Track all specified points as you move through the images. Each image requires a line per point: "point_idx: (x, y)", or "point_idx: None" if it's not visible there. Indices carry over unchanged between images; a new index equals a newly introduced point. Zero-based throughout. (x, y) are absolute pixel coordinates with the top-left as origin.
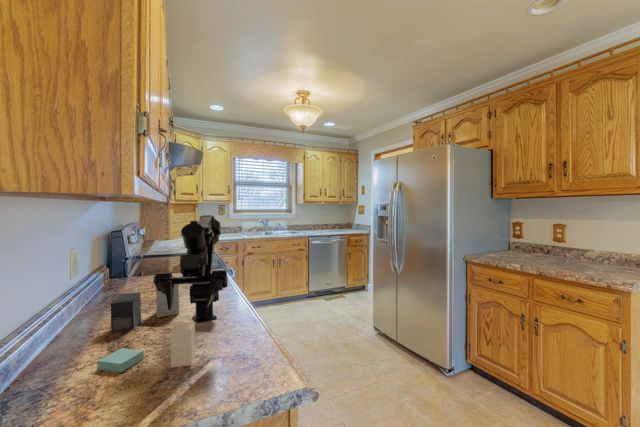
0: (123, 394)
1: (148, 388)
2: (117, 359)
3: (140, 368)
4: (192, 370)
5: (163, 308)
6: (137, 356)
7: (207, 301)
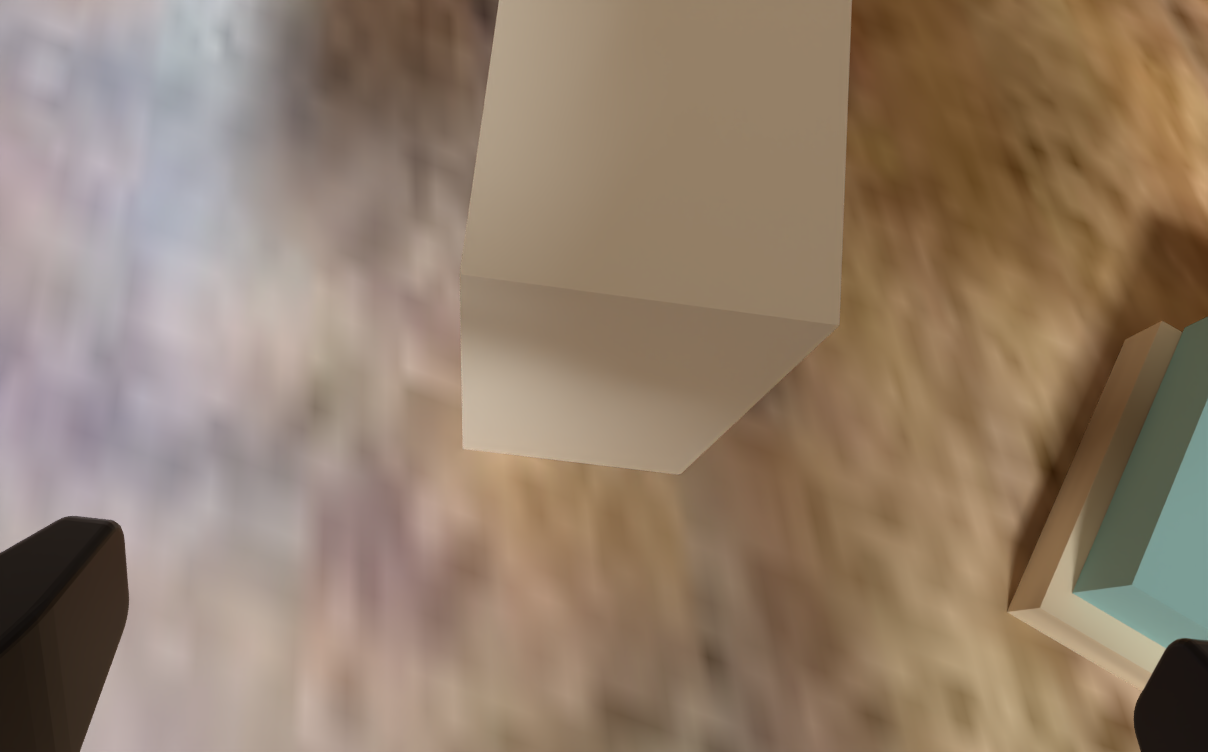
0: (1020, 73)
1: None
2: None
3: (1037, 499)
4: None
5: None
6: (1151, 502)
7: (9, 593)
